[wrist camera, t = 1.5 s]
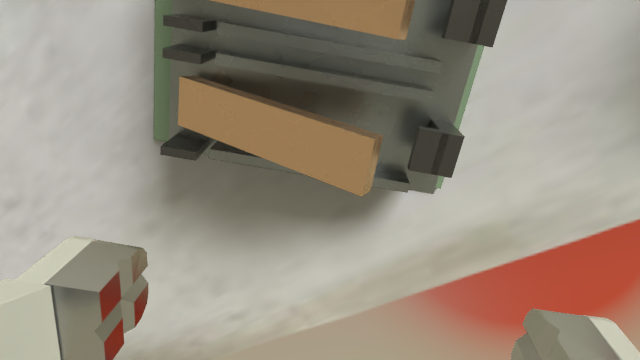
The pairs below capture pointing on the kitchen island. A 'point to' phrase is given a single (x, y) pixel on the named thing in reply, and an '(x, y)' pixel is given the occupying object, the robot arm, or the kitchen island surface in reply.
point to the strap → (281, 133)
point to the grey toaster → (338, 78)
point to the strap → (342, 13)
